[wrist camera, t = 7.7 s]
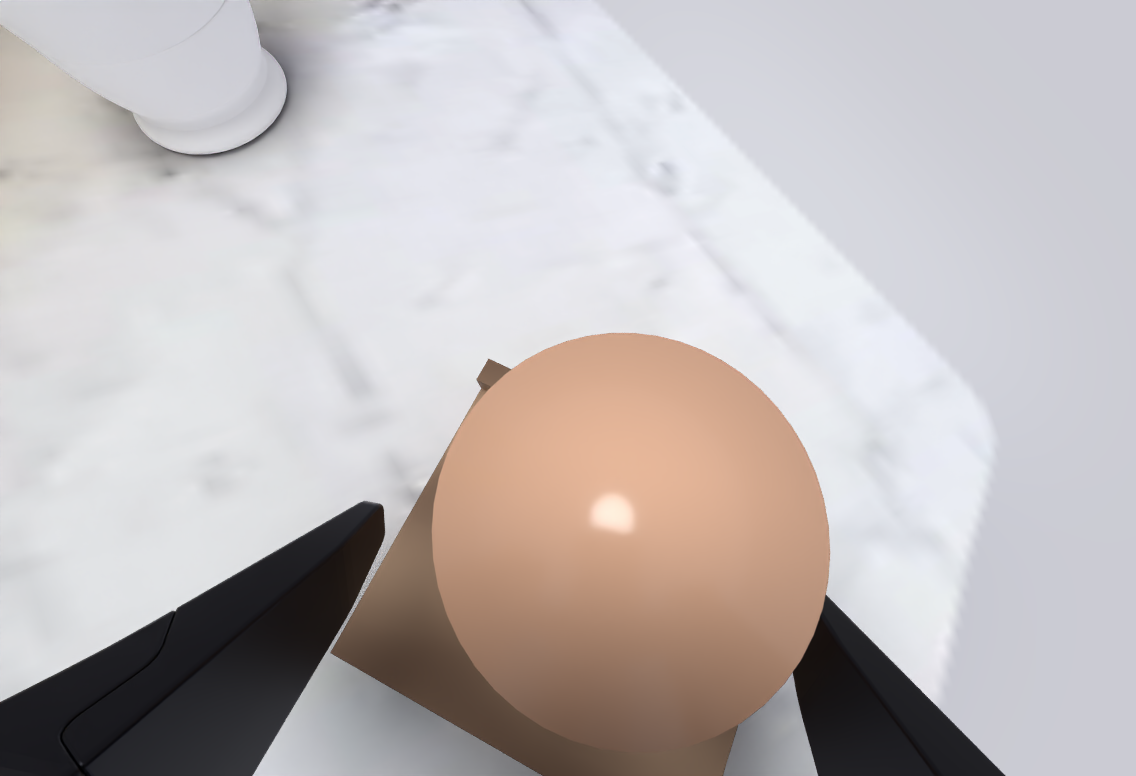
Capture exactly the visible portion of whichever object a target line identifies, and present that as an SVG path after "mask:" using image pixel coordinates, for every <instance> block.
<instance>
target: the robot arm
mask: <svg viewBox="0 0 1136 776" xmlns="http://www.w3.org/2000/svg"><path fill="white" fill-rule="evenodd" d="M384 536H385V523H384V509H383V506H382V505H381V504H378V503H373V502H368V501H363V502H360V503H358V504H357V505H355V506H353V507H351V508H350V509H348V510H346V511H344V512H343V513H341V514H339V515H337V516H336V517H334V518H332V519H331V520H329V521H327V522H325V523H324V524H322V525H320V526H318V527H317V528H315V529H313V530H311V531H310V532H308V533H306V534H305V535H303V536H301V537H299V538H298V539H296V540H294V541H292V542H291V543H289V544H287V545H285V546H284V547H282V548H280V549H279V550H277V551H275V552H273V553H272V554H270V555H268V556H266V557H265V558H263V559H261V560H259V561H258V562H256V563H254V564H252V565H251V566H249V567H247V568H246V569H244V570H242V571H240V572H239V573H237V574H235V575H233V576H232V577H230V578H228V579H226V580H225V581H223V582H221V583H220V584H218V585H216V586H214V587H213V588H211V589H209V590H207V591H206V592H204V593H202V594H200V595H199V596H197V597H195V598H194V599H192V600H190V601H188V602H187V603H185V604H183V605H181V606H180V607H178V608H177V610H176V612H175V611H171V612H169V613H167V614H165V615H164V616H162V617H160V618H159V619H157V620H155V621H153V622H152V623H150V624H148V625H146V626H145V627H143V628H141V629H139V630H137V631H136V632H134V633H132V634H130V635H128V636H127V637H125V638H123V639H121V640H119V641H118V642H116V643H114V644H112V645H110V646H109V647H107V648H105V649H103V650H101V651H99V652H97V653H95V654H93V655H92V656H90V657H88V658H86V659H84V660H82V661H80V662H78V663H76V664H74V665H72V666H70V667H69V668H67V669H65V670H63V671H61V672H59V673H57V674H55V675H53V676H51V677H49V678H47V679H45V680H43V681H41V682H39V683H37V684H35V685H33V686H31V687H29V688H27V689H25V690H23V691H21V692H19V693H17V694H15V695H13V696H11V697H9V698H7V699H5V700H3V701H1V702H0V776H252V775H253V774H254V772H255V770H256V769H257V767H258V765H259V764H260V762H261V760H262V759H263V757H264V755H265V754H266V752H267V750H268V749H269V747H270V745H271V744H272V742H273V740H274V739H275V737H276V735H277V733H278V732H279V730H280V728H281V727H282V725H283V723H284V722H285V720H286V718H287V717H288V715H289V713H290V712H291V710H292V708H293V707H294V705H295V703H296V702H297V700H298V698H299V697H300V695H301V693H302V692H303V690H304V688H305V687H306V685H307V683H308V681H309V680H310V678H311V676H312V675H313V673H314V671H315V670H316V668H317V666H318V665H319V663H320V661H321V660H322V658H323V656H324V655H325V653H326V651H327V650H328V648H329V646H330V645H331V643H332V641H333V640H334V638H335V636H336V635H337V633H338V631H339V630H340V628H341V626H342V624H343V623H344V621H345V619H346V618H347V616H348V614H349V612H350V610H351V608H352V606H353V604H354V602H355V600H356V598H357V596H358V594H359V592H360V590H361V587H362V585H363V583H364V581H365V579H366V577H367V575H368V572H369V570H370V568H371V566H372V564H373V562H374V560H375V557H376V555H377V553H378V551H379V549H380V547H381V545H382V542H383V539H384ZM793 676H794V681H795V687H796V692H797V697H798V702H799V706H800V710H801V714H802V718H803V722H804V725H805V729H806V733H807V736H808V740H809V744H810V747H811V751H812V755H813V758H814V762H815V766H816V769H817V773H818V776H1005V775H1004V774H1003V773H1002V772H1001V771H1000V770H999V769H998V768H997V767H996V766H995V765H994V764H993V763H992V762H991V761H990V760H989V759H988V758H987V757H986V756H985V755H984V754H983V753H982V752H981V751H980V750H979V749H978V748H977V746H976V745H974V744H973V742H972V741H970V739H968V737H966V735H964V733H963V732H962V731H960V729H958V727H957V726H956V725H955V724H954V723H953V722H952V721H951V720H950V719H949V718H948V717H947V716H946V715H945V714H944V713H943V712H942V711H941V710H940V709H939V708H938V707H937V706H936V705H935V704H934V703H933V702H932V701H931V700H930V699H929V698H928V697H927V696H926V695H925V694H924V693H923V692H922V691H921V690H920V689H919V688H918V687H917V686H916V685H915V684H914V683H913V682H912V681H911V680H910V679H909V678H908V677H907V676H906V675H905V674H904V673H903V672H902V671H901V670H900V669H899V668H898V667H897V666H896V665H895V664H894V663H893V662H892V661H891V660H890V659H889V658H888V657H887V656H886V655H885V654H884V653H883V652H882V651H881V650H880V649H879V648H878V647H877V646H876V645H875V644H874V643H873V642H872V641H871V640H870V639H869V638H868V637H867V636H866V635H865V634H864V633H863V632H862V631H861V630H860V628H859V627H858V626H857V625H856V624H855V623H854V622H853V621H852V620H851V619H850V618H849V617H848V616H847V615H846V614H845V613H844V612H843V611H842V610H841V609H840V608H839V607H838V606H837V605H836V604H835V603H834V602H833V601H832V600H831V599H830V598H829V597H828V596H827V595H826V594H825V599H824V604H823V609H822V612H821V615H820V618H819V621H818V624H817V626H816V629H815V632H814V635H813V637H812V639H811V641H810V643H809V645H808V647H807V649H806V651H805V653H804V655H803V657H802V659H801V661H800V662H799V664H798V665H797V666H796V668H795V669H794V671H793Z"/></svg>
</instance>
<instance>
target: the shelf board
mask: <svg viewBox="0 0 1136 776" xmlns="http://www.w3.org/2000/svg"><path fill="white" fill-rule="evenodd" d="M510 370H512V369H509V368H507V367H505V366H503V365H501V364H499V363H497V362H495V361H492V360H490V359H488V361H487V362H486V364H485V366H484V367H483V369H482V371H481V373H480V374H479V376H478V378H477V381H478V383H479V385H480V387H481V390H480V392H479V394H478V395H477V397H476V399H475V401H474V402H473V404H472V406H471V408H470V409H469V411H468V413H467V415H466V416H465V418H464V420H463V422H464V421H465V419H466V418H467V416H468V414H469V413H470V411H471V410H472V408H473V407H474V406H475V405H476V404H477V402H478V401H479V400H480V399H481V398H482V397H483V395H484V394H485V393H486V392H487V391H488V390H489V389H490V388H491V387H492V386H493V385H494V384H495V383H496V382H497V381H498V380H500V379H501V378H502V377H503V376H504V375H505V374H506V373H508V372H509V371H510ZM463 422H462V423H461V425H462V424H463ZM461 425H460V427H461ZM460 427H459V428H460ZM458 430H459V429H458ZM458 430H457V432H458ZM457 432H456V434H457ZM456 434H455V436H456ZM455 436H454V437H453V439H452V441H451V443H450V444H449V446H448V448H447V450H446V451H445V453H444V455H443V457H442V458H441V460H440V462H439V464H438V465H437V467H436V469H435V471H434V472H433V474H432V476H431V478H430V479H429V481H428V483H427V485H426V486H425V488H424V490H423V492H422V493H421V495H420V497H419V499H418V500H417V502H416V504H415V506H414V507H413V509H412V511H411V513H410V514H409V516H408V518H407V520H406V521H405V523H404V525H403V527H402V528H401V530H400V532H399V534H398V535H397V537H396V539H395V541H394V542H393V544H392V546H391V548H390V549H389V551H388V553H387V555H386V556H385V558H384V560H383V562H382V563H381V565H380V567H379V569H378V570H377V572H376V574H375V576H374V577H373V579H372V581H371V583H370V584H369V586H368V588H367V590H366V591H365V593H364V595H363V597H362V598H361V600H360V602H359V604H358V605H357V607H356V609H355V611H354V612H353V614H352V616H351V618H350V619H349V621H348V623H347V625H346V626H345V628H344V630H343V632H342V633H341V635H340V637H339V639H338V640H337V642H336V644H335V646H334V647H333V649H332V651H331V654H333V655H335V656H337V657H338V658H340V659H342V660H344V661H345V662H347V663H349V664H351V665H352V666H354V667H356V668H357V669H359V670H361V671H363V672H364V673H366V674H368V675H370V676H371V677H373V678H375V679H376V680H378V681H380V682H382V683H383V684H385V685H387V686H389V687H390V688H392V689H394V690H396V691H397V692H399V693H401V694H402V695H404V696H406V697H408V698H409V699H411V700H413V701H415V702H416V703H418V704H420V705H421V706H423V707H425V708H427V709H428V710H430V711H432V712H434V713H435V714H437V715H439V716H440V717H442V718H444V719H446V720H447V721H449V722H451V723H453V724H454V725H456V726H458V727H460V728H461V729H463V730H465V731H466V732H468V733H470V734H472V735H473V736H475V737H477V738H479V739H480V740H482V741H484V742H485V743H487V744H489V745H491V746H492V747H494V748H496V749H498V750H499V751H501V752H503V753H504V754H506V755H508V756H510V757H511V758H513V759H515V760H517V761H518V762H520V763H522V764H524V765H525V766H527V767H529V768H530V769H532V770H534V771H536V772H537V773H539V774H541V775H543V776H723V773H724V770H725V767H726V763H727V760H728V757H729V753H730V750H731V747H732V743H733V740H734V737H735V734H736V730H737V727H738V725H736V726H734V727H733V728H731V729H729V730H727V731H725V732H724V733H722V734H720V735H718V736H716V737H714V738H711V739H708V740H705V741H703V742H700V743H697V744H694V745H691V746H689V747H684V748H678V749H673V750H668V751H662V752H642V753H627V752H619V751H612V750H604V749H598V748H595V747H592V746H588V745H585V744H581V743H578V742H575V741H571V740H569V739H567V738H565V737H562V736H560V735H558V734H556V733H554V732H552V731H550V730H548V729H545V728H543V727H542V726H540V725H539V724H537V723H536V722H534V721H533V720H531V719H530V718H528V717H527V716H525V715H524V714H522V713H521V712H519V711H518V710H516V709H515V708H514V707H513V706H512V705H511V704H510V703H509V702H508V701H506V700H505V699H504V698H503V697H502V696H501V695H500V694H499V693H497V692H496V691H495V690H494V689H493V687H492V686H491V685H490V684H489V683H488V681H487V680H486V679H485V678H484V677H483V676H482V674H481V673H480V672H479V671H478V670H477V668H476V667H475V666H474V664H473V663H472V661H471V659H470V658H469V656H468V655H467V653H466V652H465V650H464V648H463V647H462V645H461V644H460V642H459V640H458V638H457V636H456V634H455V631H454V629H453V627H452V625H451V623H450V621H449V618H448V616H447V614H446V611H445V608H444V604H443V601H442V598H441V595H440V591H439V588H438V584H437V578H436V572H435V567H434V561H433V547H432V520H433V507H434V500H435V495H436V490H437V485H438V480H439V476H440V473H441V470H442V467H443V464H444V461H445V458H446V456H447V453H448V450H449V448H450V446H451V444H452V442H453V440H454V438H455Z"/></svg>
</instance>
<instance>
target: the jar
mask: <svg viewBox="0 0 1136 776" xmlns="http://www.w3.org/2000/svg"><path fill="white" fill-rule="evenodd" d="M0 25H1V26H3V27H4V28H6V29H7V30H8V31H10V32H11V33H13V34H14V35H15V36H17V37H18V38H20V39H21V40H23V41H24V42H25V43H27V44H28V45H30V46H31V47H33V48H34V49H35V50H36V51H38V52H39V53H40V54H41V55H43V56H44V57H45V58H46V59H48V60H49V61H50V62H52V63H53V64H54V65H56V66H57V67H58V68H60V69H61V70H62V71H64V72H65V73H66V74H68V75H69V76H71V77H72V78H74V79H75V80H76V81H78V82H79V83H81V84H82V85H84V86H85V87H87V88H89V89H90V90H92V91H93V92H95V93H97V94H99V95H100V96H102V97H104V98H106V99H107V100H109V101H111V102H113V103H115V104H117V105H119V106H121V107H123V108H125V109H127V110H129V111H132V113H133V116H134V118H135V120H136V122H137V124H138V125H139V127H140V128H141V130H142V131H143V132H144V133H145V134H146V135H147V136H148V137H149V138H150V139H151V140H153V141H154V142H155V143H157V144H159V145H161V146H162V147H165V148H167V149H170V150H173V151H176V152H180V153H186V154H212V153H218V152H223V151H227V150H230V149H233V148H236V147H239V146H241V145H243V144H245V143H247V142H249V141H251V140H253V139H254V138H256V137H257V136H258V135H260V134H261V133H263V132H264V131H265V130H266V129H267V128H268V127H269V126H270V125H271V124H272V123H273V122H274V121H275V119H276V118H277V116H278V115H279V114H280V112H281V110H282V108H283V105H284V103H285V99H286V94H287V83H286V78H285V75H284V72H283V70H282V68H281V66H280V64H279V63H278V62H277V60H276V59H275V58H274V57H273V56H272V55H271V54H270V53H269V52H268V51H267V50H265V49H264V48H263V47H261V45H260V39H259V34H258V29H257V25H256V21H255V17H254V14H253V11H252V8H251V5H250V2H249V0H0Z"/></svg>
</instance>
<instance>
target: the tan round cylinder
mask: <svg viewBox="0 0 1136 776" xmlns="http://www.w3.org/2000/svg"><path fill="white" fill-rule="evenodd" d="M432 547H433V561H434V567H435V572H436V578H437V584H438V588H439V591H440V595H441V598H442V601H443V604H444V608H445V611H446V614H447V616H448V618H449V621H450V623H451V625H452V627H453V629H454V631H455V634H456V636H457V638H458V640H459V642H460V644H461V645H462V647H463V648H464V650H465V652H466V653H467V655H468V656H469V658H470V659H471V661H472V663H473V664H474V666H475V667H476V668H477V670H478V671H479V672H480V673H481V674H482V676H483V677H484V678H485V679H486V680H487V681H488V683H489V684H490V685H491V686H492V687H493V689H494V690H495V691H496V692H497V693H499V694H500V695H501V696H502V697H503V698H504V699H505V700H506V701H508V702H509V703H510V704H511V705H512V706H513V707H514V708H515V709H516V710H518V711H519V712H521V713H522V714H524V715H525V716H527V717H528V718H530V719H531V720H533V721H534V722H536V723H537V724H539V725H540V726H542V727H543V728H545V729H548V730H550V731H552V732H554V733H556V734H558V735H560V736H562V737H565V738H567V739H569V740H571V741H575V742H578V743H581V744H585V745H588V746H592V747H595V748H598V749H604V750H612V751H619V752H627V753H642V752H662V751H668V750H673V749H678V748H684V747H689V746H691V745H694V744H697V743H700V742H703V741H705V740H708V739H711V738H714V737H716V736H718V735H720V734H722V733H724V732H725V731H727V730H729V729H731V728H733V727H734V726H736V725H738V724H740V723H742V722H743V721H744V720H745V719H747V718H748V717H749V716H751V715H752V714H753V713H755V712H756V711H757V710H758V709H760V708H761V707H762V706H764V705H765V704H766V703H767V702H768V701H769V699H770V698H771V697H772V696H773V695H774V694H775V693H776V692H777V691H778V690H779V689H780V688H781V687H782V686H783V685H784V684H785V682H786V681H787V679H788V678H789V676H790V675H791V674H792V672H793V671H794V669H795V668H796V666H797V665H798V664H799V662H800V661H801V659H802V657H803V655H804V653H805V651H806V649H807V647H808V645H809V643H810V641H811V639H812V637H813V635H814V632H815V629H816V626H817V624H818V621H819V618H820V615H821V612H822V609H823V604H824V599H825V594H826V589H827V584H828V577H829V562H830V542H829V525H828V520H827V514H826V509H825V503H824V498H823V495H822V492H821V488H820V485H819V482H818V479H817V475H816V473H815V470H814V468H813V466H812V463H811V461H810V459H809V457H808V454H807V452H806V450H805V448H804V446H803V445H802V443H801V441H800V439H799V438H798V436H797V434H796V433H795V431H794V429H793V428H792V426H791V425H790V424H789V422H788V421H787V419H786V418H785V417H784V415H783V414H782V413H781V411H780V410H779V409H778V407H777V406H776V405H775V404H774V403H773V402H772V401H771V400H770V399H769V398H768V397H767V396H766V395H765V394H764V393H763V391H762V390H761V389H759V388H758V387H757V386H756V385H755V384H754V383H752V382H751V381H750V380H749V379H748V378H746V377H745V376H744V375H743V374H742V373H740V372H739V371H737V370H736V369H734V368H733V367H731V366H730V365H728V364H727V363H725V362H724V361H722V360H720V359H718V358H716V357H715V356H713V355H711V354H709V353H707V352H705V351H703V350H701V349H698V348H695V347H693V346H690V345H687V344H685V343H682V342H679V341H675V340H671V339H667V338H663V337H659V336H653V335H645V334H637V333H608V334H599V335H591V336H586V337H582V338H578V339H574V340H570V341H566V342H563V343H561V344H558V345H556V346H553V347H550V348H548V349H545V350H543V351H541V352H540V353H538V354H536V355H534V356H532V357H530V358H528V359H526V360H525V361H523V362H522V363H520V364H519V365H518V366H516V367H515V368H513V369H512V370H510V371H509V372H508V373H506V374H505V375H504V376H503V377H502V378H501V379H500V380H498V381H497V382H496V383H495V384H494V385H493V386H492V387H491V388H490V389H489V390H488V391H487V392H486V393H485V394H484V395H483V397H482V398H481V399H480V400H479V401H478V402H477V404H476V405H475V406H474V407H473V408H472V410H471V411H470V413H469V414H468V416H467V418H466V419H465V421H464V422H463V424H462V425H461V427H460V428H459V430H458V432H457V434H456V436H455V438H454V440H453V442H452V444H451V446H450V448H449V450H448V453H447V456H446V458H445V461H444V464H443V467H442V470H441V473H440V476H439V480H438V485H437V490H436V495H435V500H434V507H433V520H432Z"/></svg>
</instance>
